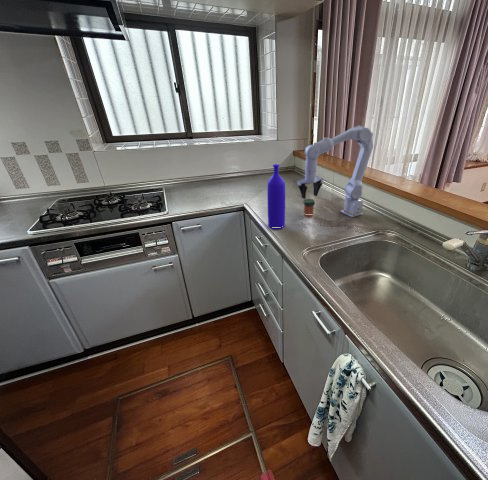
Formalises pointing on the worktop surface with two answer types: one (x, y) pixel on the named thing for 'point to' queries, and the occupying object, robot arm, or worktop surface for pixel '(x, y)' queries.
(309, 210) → the jar
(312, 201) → the jar lid
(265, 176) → the worktop surface
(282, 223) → the bottle
